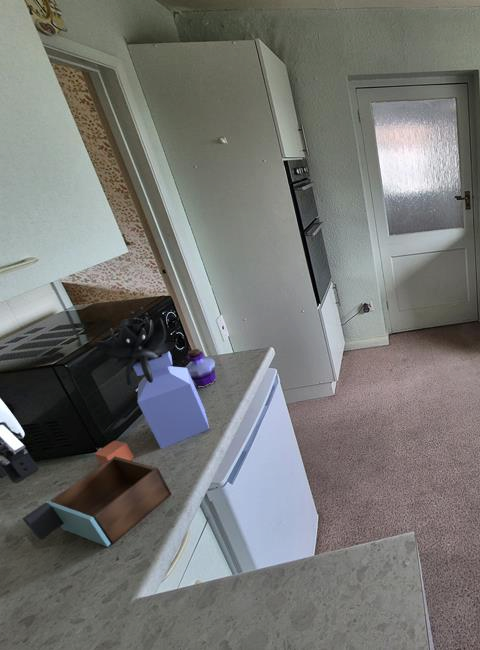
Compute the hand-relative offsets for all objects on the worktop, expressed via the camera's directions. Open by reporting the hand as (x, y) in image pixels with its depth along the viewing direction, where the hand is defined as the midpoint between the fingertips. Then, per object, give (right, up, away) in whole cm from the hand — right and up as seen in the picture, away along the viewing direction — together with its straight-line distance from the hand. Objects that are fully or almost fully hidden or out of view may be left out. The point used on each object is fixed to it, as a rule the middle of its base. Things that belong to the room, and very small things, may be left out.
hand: (19, 473), depth 65 cm
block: (-8, -9, +28) cm, 30 cm away
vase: (+1, -5, +38) cm, 38 cm away
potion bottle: (-6, +4, +58) cm, 59 cm away
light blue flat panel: (+2, -17, +8) cm, 19 cm away
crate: (+5, -14, +15) cm, 21 cm away
